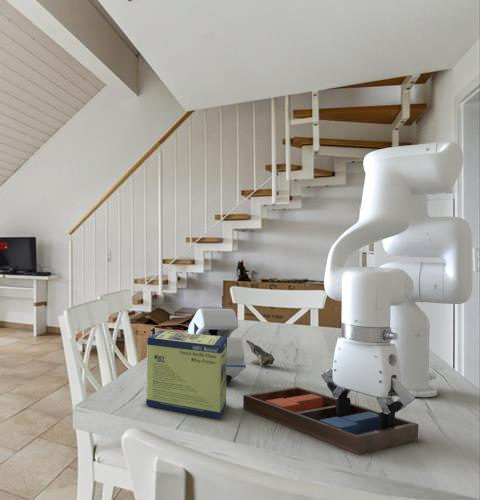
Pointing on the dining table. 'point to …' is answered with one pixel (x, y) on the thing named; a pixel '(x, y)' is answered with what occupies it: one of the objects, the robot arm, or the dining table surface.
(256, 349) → the shark head
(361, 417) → the blue tall stepped post
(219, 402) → the protein box
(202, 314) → the robotic device
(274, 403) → the orange stepped bar
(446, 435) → the dining table surface
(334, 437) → the cutlery tray
